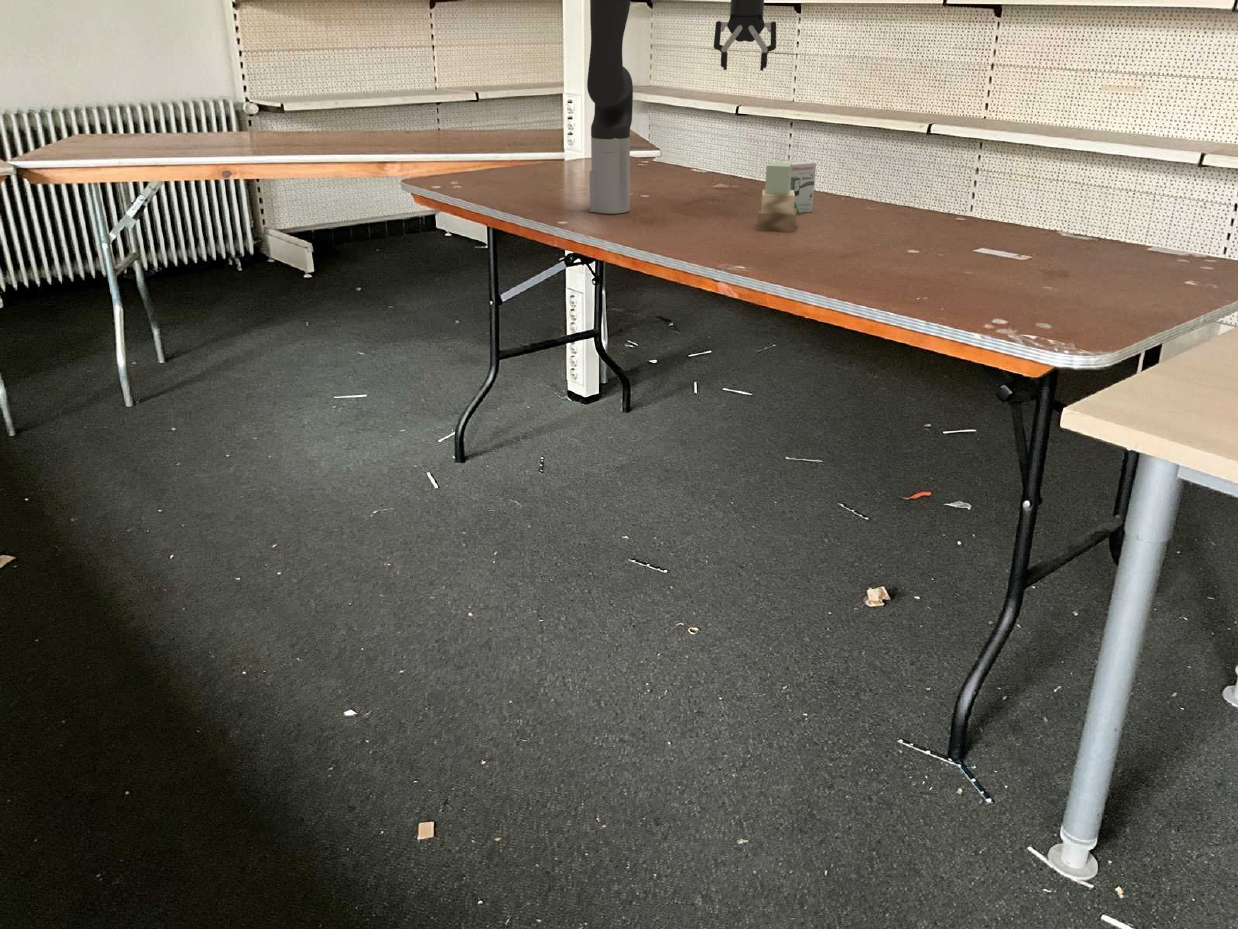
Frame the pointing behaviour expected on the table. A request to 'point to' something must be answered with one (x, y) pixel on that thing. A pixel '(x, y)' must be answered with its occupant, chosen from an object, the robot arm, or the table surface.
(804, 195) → the ink box
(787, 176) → the sage block
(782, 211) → the tower top
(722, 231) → the table surface
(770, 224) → the tower base
